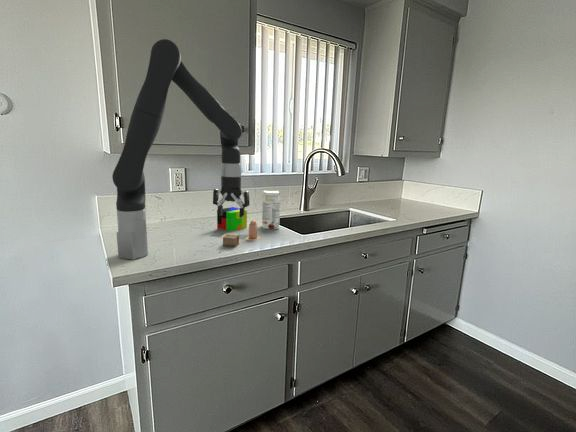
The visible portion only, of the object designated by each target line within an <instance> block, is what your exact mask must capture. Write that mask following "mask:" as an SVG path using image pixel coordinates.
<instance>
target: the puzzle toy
mask: <svg viewBox="0 0 576 432" xmlns="http://www.w3.org/2000/svg"><path fill="white" fill-rule="evenodd" d="M216 217H217V218H216V221H217V222H216V224H217V225H216V227H217V229H216V230H220V229H221V230H226V231H229V232H234V231H239V230H242V229H246V228H247V227H248V224H247V223H248V210H247V209H245V212H244V216H243V217H242V218H241V217H240V207H234V206H231V207H225V208H224V207H223V215H222V216H219V214H218V209H216Z"/></svg>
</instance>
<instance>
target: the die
mask: <svg viewBox="0 0 576 432" xmlns="http://www.w3.org/2000/svg"><path fill="white" fill-rule="evenodd" d="M232 234H233V233H230V234H227V235H226V236H224V237H222V246H223V247H226V248H236V247H237V246H238V245H240V239H239V235H238V234H237V235H232Z"/></svg>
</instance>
